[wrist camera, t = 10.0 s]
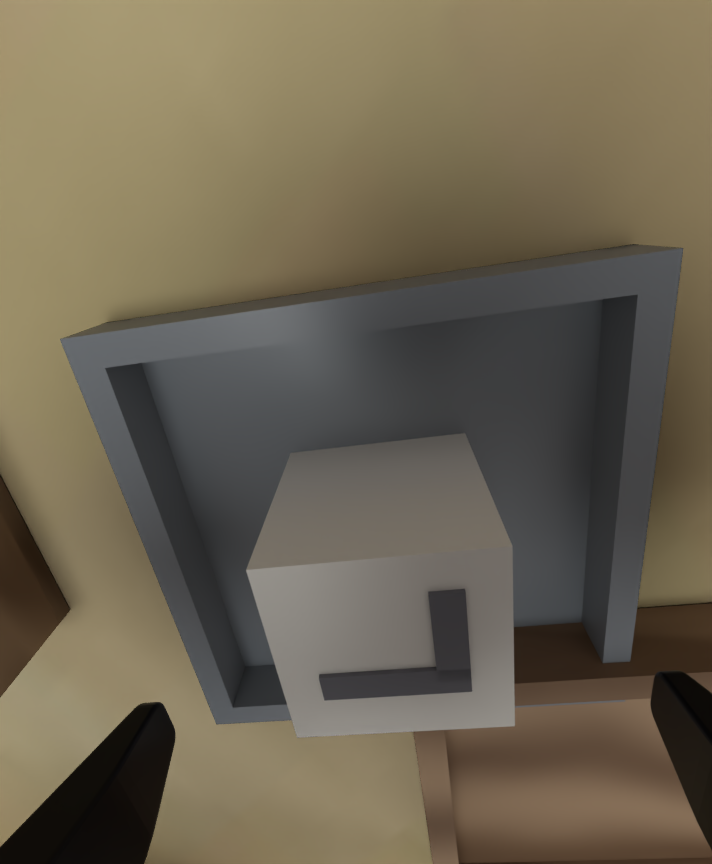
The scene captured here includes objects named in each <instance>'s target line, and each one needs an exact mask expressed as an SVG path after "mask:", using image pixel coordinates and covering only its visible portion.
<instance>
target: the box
mask: <svg viewBox="0 0 712 864" xmlns="http://www.w3.org/2000/svg"><path fill="white" fill-rule="evenodd" d="M69 611H70V609H69V607H68V605H67V603H66V602H65V600H64V598H63V596H62V594H61V592H60V590H59V588H58V586H57V584H56V582H55V580H54V579H53V577H52V575H51V573H50V571H49V569H48V567H47V565H46V563H45V561H44V559H43V557H42V555H41V554H40V552H39V550H38V548H37V546H36V544H35V542H34V540H33V538H32V536H31V534H30V532H29V531H28V529H27V527H26V525H25V523H24V521H23V519H22V517H21V515H20V513H19V511H18V509H17V508H16V506H15V504H14V502H13V500H12V498H11V496H10V494H9V492H8V490H7V488H6V486H5V485H4V483H3V481H2V479H1V477H0V697H1V696H2V695H3V693H4V692H5V691H6V690H7V688H8V687H9V686H10V685H11V683H12V682H13V681H14V680H15V678H16V677H17V676H18V675H19V673H20V672H21V671H22V670H23V668H24V667H25V666H26V665H27V663H28V662H29V661H30V660H31V658H32V657H33V656H34V655H35V653H36V652H37V651H38V650H39V648H40V647H41V646H42V645H43V643H44V642H45V641H46V640H47V638H48V637H49V636H50V635H51V633H52V632H53V631H54V630H55V628H56V627H57V626H58V625H59V623H60V622H61V621H62V620H63V618H64V617H65V616H66V615H67V613H68V612H69Z"/></svg>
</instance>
